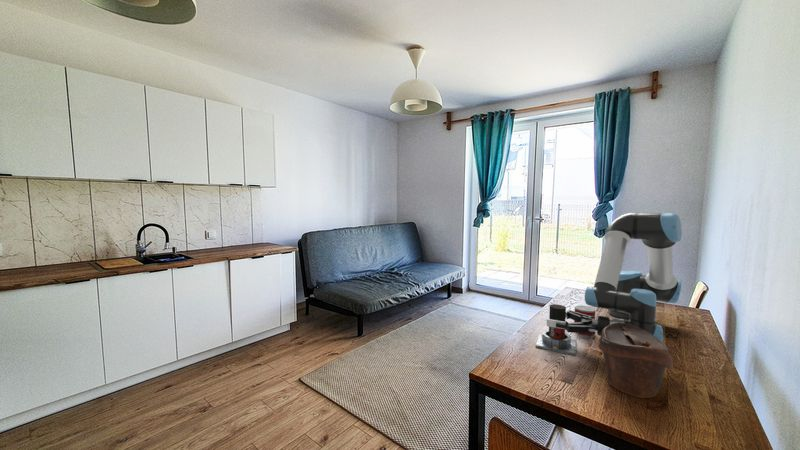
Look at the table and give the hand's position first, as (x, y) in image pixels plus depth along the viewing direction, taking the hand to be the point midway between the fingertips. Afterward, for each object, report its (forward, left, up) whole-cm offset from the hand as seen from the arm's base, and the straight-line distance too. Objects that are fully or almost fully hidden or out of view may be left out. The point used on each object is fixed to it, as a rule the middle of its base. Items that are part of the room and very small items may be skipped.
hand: (548, 317), depth 129 cm
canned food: (-21, +13, -11) cm, 27 cm away
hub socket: (0, +3, -11) cm, 12 cm away
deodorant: (0, +3, -10) cm, 11 cm away
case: (+21, +26, -11) cm, 36 cm away
